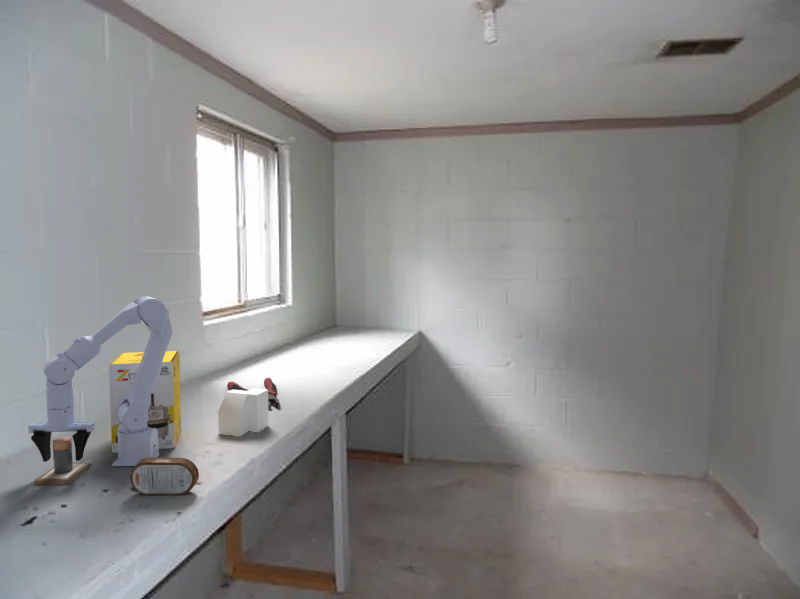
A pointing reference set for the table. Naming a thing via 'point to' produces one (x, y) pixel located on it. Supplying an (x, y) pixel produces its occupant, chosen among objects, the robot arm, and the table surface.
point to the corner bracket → (243, 412)
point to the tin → (164, 476)
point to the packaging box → (162, 398)
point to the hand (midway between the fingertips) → (63, 459)
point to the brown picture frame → (62, 475)
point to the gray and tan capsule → (62, 455)
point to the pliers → (268, 384)
